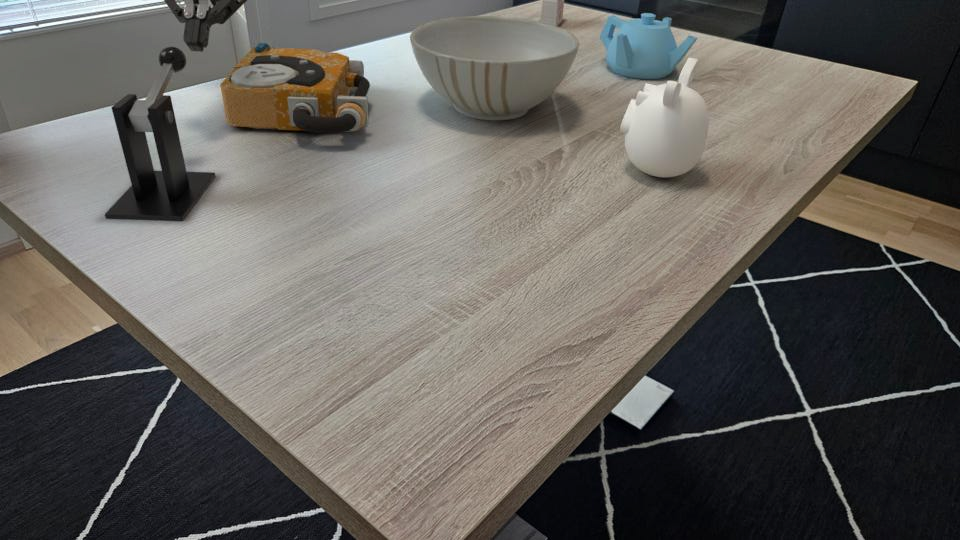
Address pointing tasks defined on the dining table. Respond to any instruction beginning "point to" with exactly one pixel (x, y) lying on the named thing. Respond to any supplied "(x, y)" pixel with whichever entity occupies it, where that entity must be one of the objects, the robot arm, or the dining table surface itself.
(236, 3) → the robot arm
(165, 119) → the bracket
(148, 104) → the lever
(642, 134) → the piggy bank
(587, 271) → the dining table surface
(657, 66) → the teapot
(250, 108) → the device
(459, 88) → the decorative bowl
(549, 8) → the white rectangular block
